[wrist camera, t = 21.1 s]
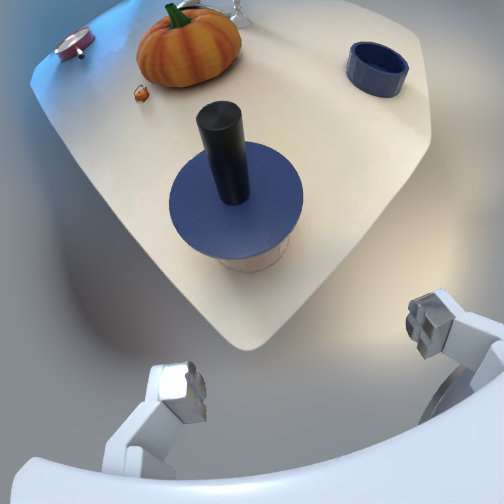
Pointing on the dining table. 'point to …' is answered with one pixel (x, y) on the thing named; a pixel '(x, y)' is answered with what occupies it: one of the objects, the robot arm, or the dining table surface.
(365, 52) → the blue round container
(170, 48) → the pumpkin
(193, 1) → the soupspoon
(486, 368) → the robot arm
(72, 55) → the frying pan
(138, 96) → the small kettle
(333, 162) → the dining table surface
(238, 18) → the chalice
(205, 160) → the lid
